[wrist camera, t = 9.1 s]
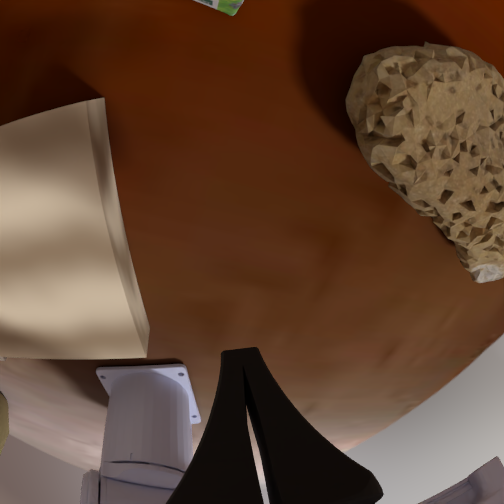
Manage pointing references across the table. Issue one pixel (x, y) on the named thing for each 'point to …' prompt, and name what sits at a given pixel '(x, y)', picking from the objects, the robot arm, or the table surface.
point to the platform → (65, 242)
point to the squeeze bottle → (3, 421)
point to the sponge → (438, 142)
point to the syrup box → (223, 5)
